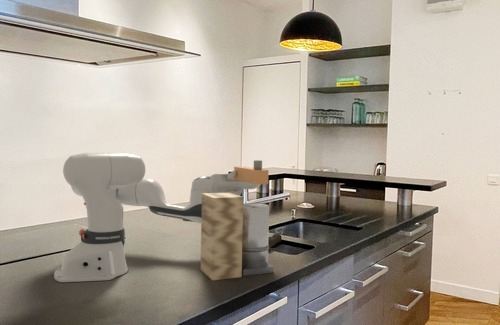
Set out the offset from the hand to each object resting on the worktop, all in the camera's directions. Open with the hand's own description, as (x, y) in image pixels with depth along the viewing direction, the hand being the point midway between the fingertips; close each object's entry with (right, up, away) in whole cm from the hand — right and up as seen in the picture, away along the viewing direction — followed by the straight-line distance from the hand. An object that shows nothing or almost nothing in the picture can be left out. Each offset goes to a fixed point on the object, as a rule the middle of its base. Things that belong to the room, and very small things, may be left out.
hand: (243, 172), depth 156 cm
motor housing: (+3, -33, -7) cm, 34 cm away
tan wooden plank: (+2, -3, -5) cm, 7 cm away
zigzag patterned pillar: (-7, -33, -12) cm, 36 cm away
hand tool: (+11, -32, +26) cm, 43 cm away
